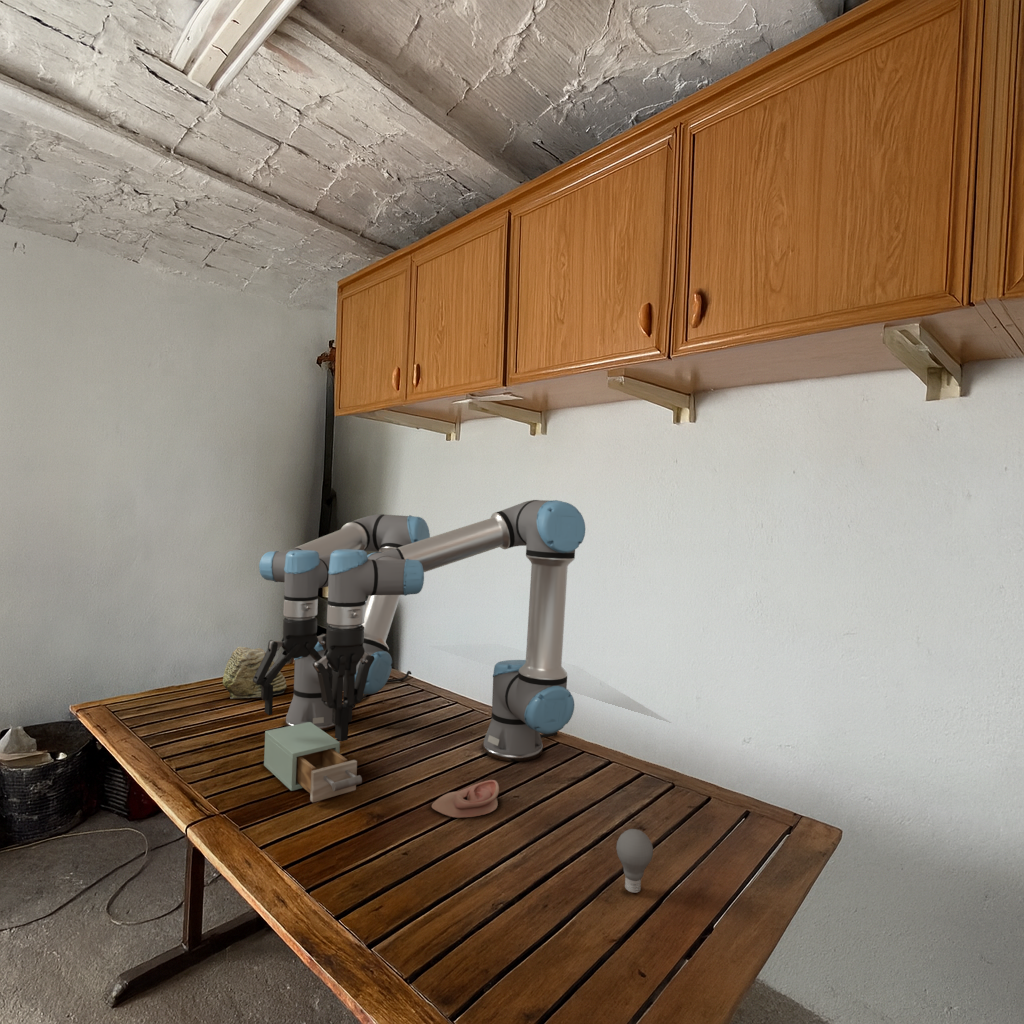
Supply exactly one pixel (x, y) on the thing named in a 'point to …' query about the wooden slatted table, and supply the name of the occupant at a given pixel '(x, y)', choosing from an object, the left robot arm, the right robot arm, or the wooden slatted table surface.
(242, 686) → the fossil
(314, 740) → the cabinet
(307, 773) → the drawer
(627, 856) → the light bulb
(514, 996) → the wooden slatted table surface
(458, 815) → the anatomical model
